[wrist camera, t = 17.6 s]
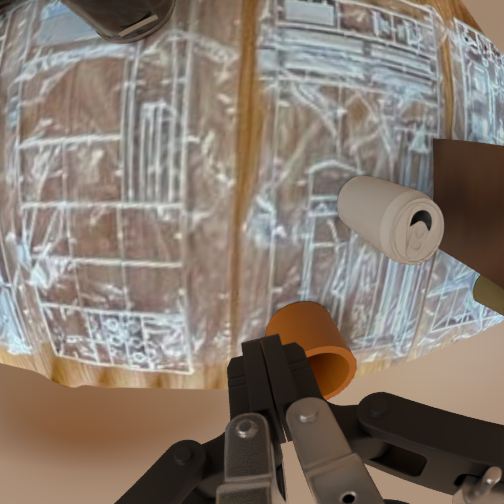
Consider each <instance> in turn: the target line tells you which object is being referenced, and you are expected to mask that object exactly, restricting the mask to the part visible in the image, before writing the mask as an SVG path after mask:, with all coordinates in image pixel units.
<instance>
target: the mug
mask: <svg viewBox="0 0 504 504" xmlns="http://www.w3.org/2000/svg"><path fill="white" fill-rule="evenodd" d="M277 333H279V336H280V339H281V343H282V345H285V344H289V343H292V342H296V343H297V344H299V345H300V346H301V347H302V348H303V349H304V351H305V354H306V356H307V359H308V361H309V364H310V367H311V369H312V371H313V374H314V376H315V379H316V381H317V384H318V387H319V389H320V392H321V394H322V396H323V397H324V399H325V400H328V399H330V398H332V397H334V396H335V395H337V394H339V393H340V392H341V391H342V390H344V389H345V388H346V387H347V386H348V385H349V383H350V382H351V380H352V379H353V378H354V375H355V372H356V369H357V366H356V359H355V357H354V356H353V354H352V352H351V350H350V349H349V347H348V345H347V343H346V342H345V340H344V338H343V336H342V335H341V333H340V331H339V330H338V328H337V326H336V324H335V323H334V321H333V319H332V318H331V316H330V314H329V313H328V311H327V310H326V309H325V308H324V307H322V306H321V305H320V304H316V303H313V302H297V303H294V304H291V305H288V306H286V307H284V308H283V309H281V310H279V311H278V312H277V313H276V314H275V315H274V316H273V317H272V318H271V320H270V322H269V324H268V326H267V329H266V336H270V335H273V334H277ZM261 345H262V342H261ZM262 348H263V346H262ZM263 351H264V350H263Z"/></svg>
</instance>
